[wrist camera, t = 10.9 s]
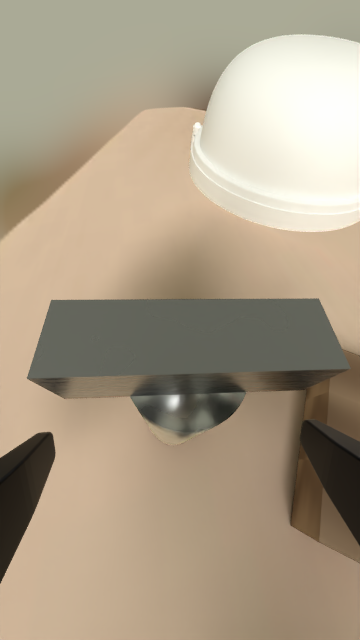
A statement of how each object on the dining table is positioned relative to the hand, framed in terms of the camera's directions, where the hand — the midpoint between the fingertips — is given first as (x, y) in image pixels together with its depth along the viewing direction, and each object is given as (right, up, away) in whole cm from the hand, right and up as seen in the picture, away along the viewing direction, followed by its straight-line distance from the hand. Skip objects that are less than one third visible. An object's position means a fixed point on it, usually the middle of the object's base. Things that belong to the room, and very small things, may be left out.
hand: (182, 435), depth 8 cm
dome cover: (+16, +28, +29) cm, 44 cm away
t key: (-1, -3, +9) cm, 9 cm away
